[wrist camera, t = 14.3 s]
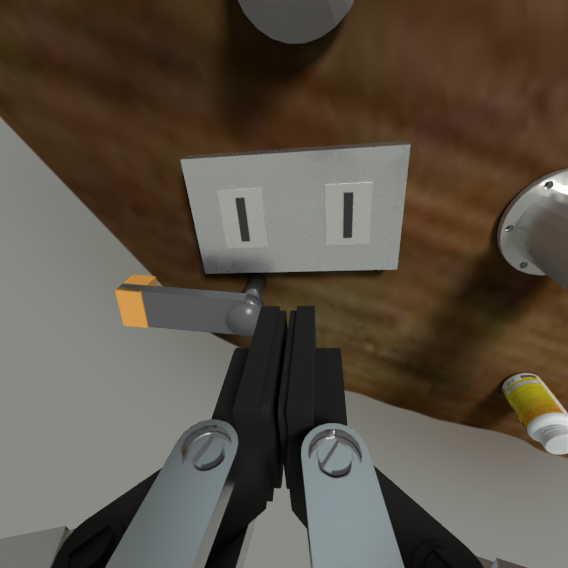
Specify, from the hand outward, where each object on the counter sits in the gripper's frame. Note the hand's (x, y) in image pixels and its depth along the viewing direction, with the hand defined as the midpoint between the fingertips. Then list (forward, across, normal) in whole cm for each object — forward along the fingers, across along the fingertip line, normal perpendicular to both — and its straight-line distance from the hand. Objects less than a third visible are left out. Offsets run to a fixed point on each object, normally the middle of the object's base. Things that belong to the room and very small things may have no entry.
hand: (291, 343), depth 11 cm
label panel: (+31, +2, +5) cm, 32 cm away
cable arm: (+26, +14, +14) cm, 33 cm away
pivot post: (+31, +8, +15) cm, 35 cm away
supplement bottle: (+31, -31, +34) cm, 56 cm away
